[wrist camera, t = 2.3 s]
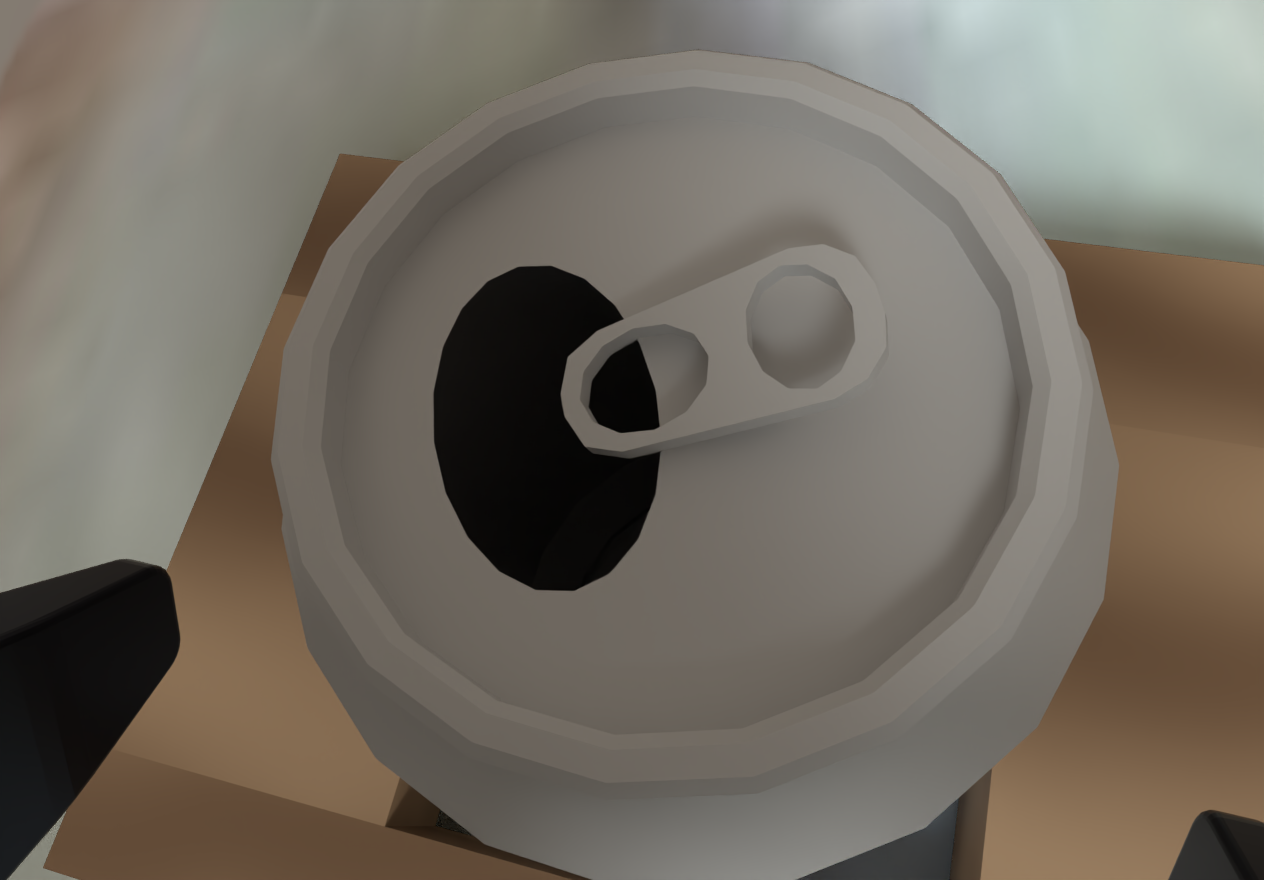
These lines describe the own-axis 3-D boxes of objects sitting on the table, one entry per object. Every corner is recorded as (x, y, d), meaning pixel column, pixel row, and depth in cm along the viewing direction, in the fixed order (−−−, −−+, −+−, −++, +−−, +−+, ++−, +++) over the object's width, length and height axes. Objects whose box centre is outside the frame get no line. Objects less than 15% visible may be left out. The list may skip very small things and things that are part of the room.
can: (507, 500, 20) (174, 90, 9) (863, 418, 19) (988, -119, 8) (566, 892, 17) (175, 1029, 6) (986, 805, 16) (1433, 770, 5)
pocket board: (1312, 1227, 14) (1421, 1309, 11) (136, 861, 18) (42, 868, 16) (1309, 347, 19) (1386, 280, 16) (383, 220, 23) (339, 153, 20)
